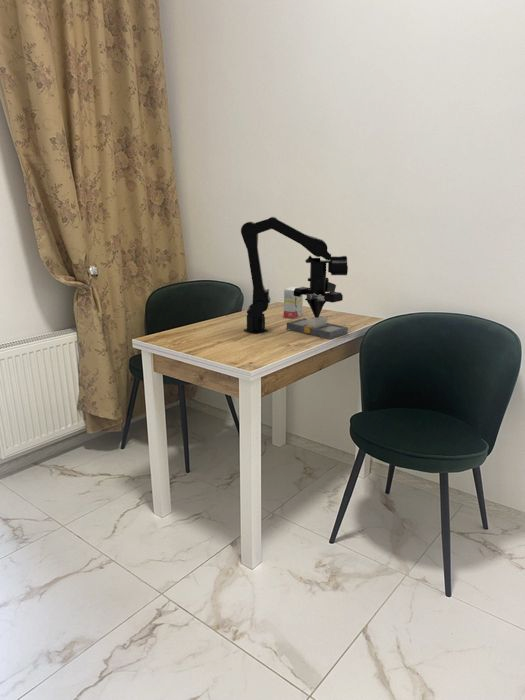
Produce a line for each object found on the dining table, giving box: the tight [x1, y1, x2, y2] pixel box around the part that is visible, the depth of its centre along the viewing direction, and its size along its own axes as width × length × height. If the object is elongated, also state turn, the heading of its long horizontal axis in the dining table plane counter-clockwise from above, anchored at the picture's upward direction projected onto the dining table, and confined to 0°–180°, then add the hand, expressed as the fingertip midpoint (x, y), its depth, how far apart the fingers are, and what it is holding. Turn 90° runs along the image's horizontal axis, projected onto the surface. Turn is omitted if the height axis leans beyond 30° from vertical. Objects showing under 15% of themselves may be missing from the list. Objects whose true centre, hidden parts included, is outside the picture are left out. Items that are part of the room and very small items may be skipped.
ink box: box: [283, 286, 304, 319], centre depth 207 cm, size 9×5×12 cm, turn 149°
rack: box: [286, 317, 349, 340], centre depth 183 cm, size 11×20×3 cm, turn 45°
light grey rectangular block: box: [306, 315, 328, 328], centre depth 183 cm, size 7×4×4 cm, turn 135°
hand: (316, 317), depth 182 cm, fingers closed
